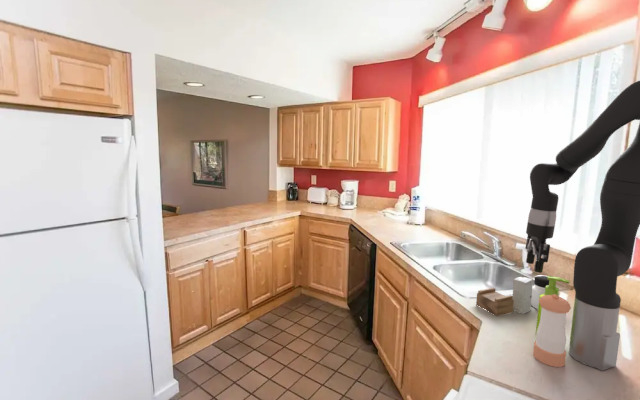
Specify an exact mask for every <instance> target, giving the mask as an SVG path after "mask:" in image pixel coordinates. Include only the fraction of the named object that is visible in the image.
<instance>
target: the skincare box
mask: <svg viewBox="0 0 640 400" xmlns="http://www.w3.org/2000/svg"><path fill="white" fill-rule="evenodd" d="M533 280H534V279H532V278H529V277H525V276H519V277H516V278H514V279H513V286H512V296H513V298H512V299H513V300H514V302H513V311H514V312H516V313H520V314H523V315H524V314H527V313H528V312H530V311H531V309H532V308H531V307H532V306H531V297H532V286H533Z"/></svg>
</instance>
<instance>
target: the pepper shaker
mask: <svg viewBox="0 0 640 400" xmlns="http://www.w3.org/2000/svg"><path fill="white" fill-rule="evenodd" d="M539 303H540V306H541V307H542V309H541V318H540V323H539V326H538V329H537V333H536V332H535V335H536V337H535V341H534V342H533V350H532V351H533V352H532V354H533V356H534V358H535V359H536V360H537V361H539V362H540V363H542V364H544V365H547V366H550V367H553V368H561V367H564V366H565V364H566V358H567V351H566V344H567V335H566V333H567V332H566V322H567V321H566V320H567V318H566V317H567V314H568V313H569V312H570V310H571V309H572V307H571V304H570V303H569V301H568V300H567V299H565V298H562V297H561V296H560V295H559V296H558V295H556V294H553V295H544V296H542V297H541V298H540V299H539Z"/></svg>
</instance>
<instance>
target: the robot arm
mask: <svg viewBox="0 0 640 400" xmlns="http://www.w3.org/2000/svg"><path fill="white" fill-rule="evenodd" d="M636 120H637V121H640V80H638V81H635V82H633V83H631V84H630V85H628V86H627V87H626V88H625V89H623V90H622V91H621V92H620V93H619V94H618V95H617V96H615V98H614V99H613V100H612V101H611V103H610V104H609V105H607V107H606V108H605V109H604V110H603V111H602V112H601V113H600V115H599V116H597V118H596V119H594V121H593V122H592V123H591V124H590V125H589V126H588V127H587V129H585V130H584V131H583V132H581V134H580V135H579V136H577V137H576V138H575V139H574V140H572V141H571V142H570V143H569V144H567V145H565V147H564V148H562V149H561V150H560V151H559V152H558V153H557V154H556V156H555V162H556V163H547V162H545V163H543V162H541V163H538V164H535V165H534V166H533V167H532V168H531V171H530V173H529V174H530V175H529V181H530V188H531V189H530V190H531V194H532V199H531V205H530V209H529V213H528V219H527V225H526V229H525V230H526V231H525V233H526V235H527V236H526V243H525V250H526V252H527V253H526V254H527V255H526V258H525V259H526V260H525V262H526V263H527V264H530V265H531V264H532V265H533V264H534V268H533V271H534V272H535V273H540V274H541V273H543V271H544V264H545V263H548V262H549V257H550V248H551V245H550V244H549V243H548V244H547V239H552V238H553V236H554V233H555V228H556V222H557V210H558V205H559V195H558V194H557V193H556V192H552V191H551V190H550V187H549V186H559V185H562V184H565V183H566V182H567V181H569V180H570V179H571V178H572V177H573V176H574V174H575V173H576V172H577V171H578V169H579V168H580V167H583V166H585V164H587V163H589V162H590V161H591V160H592V159H594V158H596V157H597V155H599V153H601V151H602V150H603V149H604V148H605V146H606V143H607V142H608V140H609V138H610V137H611V136H612V135H613V134H614V133H615V132H617V130H619V129H621V128H623V126H625V125H628V124H629V123H632V122H633V121H636ZM599 205H600V212H601V213H600V214H601V225H600V229H599V231H598V233H597V234H598V235H597V237H596V239H595V242H594V244H593V245H589V246H584V247H583V248H581V249H580V250H579V251H578V252H577V254H576V256H575V258H574V264H573V265H574V266H573V278H572V279H573V280H572V281H573V282H572V283H573V289H574V291H575V293H574V303H573V312H572V318H571V319H572V320H571V328H570V338H569V344H568V353H569V355H570V356H571V357H572V358H573V359H574V360H576V361H577V362H580V363H581V364H583V365H586V366H588V367H592V368H595V369H598V370H599V371H602V372H604V371H606V370H609V369H611V368H613V367H616V366H617V360H618V355H619V354H618V352H619V345H620V339H621V334H620V333H619V332H618V331H617V328H618V322H619V314H620V308H621V296H620V295H619V294H618V293H617V285H618V283H617V282H618V277H620V276H622V275H625V273H627V272H628V271H629V269H630V267H631V264H632V260H633V254H634V253H633V252H634V247H635V243H636V242H635V241H636V237H637V233H638V230H639V227H640V122H638V127H637V130H636V133H635V135H634V138H633V140H632V141H631V143H630V145H628V147H627V148H626V149H625V150H624V151H623V152H622V153H621V154H620V155H619V156H618V157H617V158H616V159H615V161H613V162H612V164H611V165H610V167H608V170H607V171H606V174H605V176H604V180H603V183H602V186H601V190H600V195H599Z"/></svg>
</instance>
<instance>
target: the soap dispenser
mask: <svg viewBox="0 0 640 400" xmlns="http://www.w3.org/2000/svg"><path fill="white" fill-rule="evenodd" d="M547 276H548V280H549V285H548V286H546V287H545V294H542V295H540V296H539V299H540V298H541V297H542V296H544V295H553V294H556V295H558V293H559V292H560V289H559V287H557V282H561V283H565V284H570V280H568V279H566V278H562V277H558V276H551V275H547ZM559 294H560V293H559ZM541 309H542V307H541V306H540V303H539V306H538V310H537V317H536V318H537V319H536V327H535V328H536V329H535V334H536V333H537V329H538V326H539V323H540V318H541Z"/></svg>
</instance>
